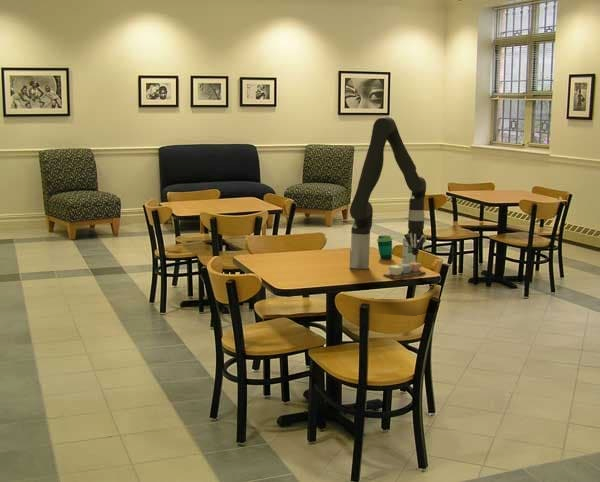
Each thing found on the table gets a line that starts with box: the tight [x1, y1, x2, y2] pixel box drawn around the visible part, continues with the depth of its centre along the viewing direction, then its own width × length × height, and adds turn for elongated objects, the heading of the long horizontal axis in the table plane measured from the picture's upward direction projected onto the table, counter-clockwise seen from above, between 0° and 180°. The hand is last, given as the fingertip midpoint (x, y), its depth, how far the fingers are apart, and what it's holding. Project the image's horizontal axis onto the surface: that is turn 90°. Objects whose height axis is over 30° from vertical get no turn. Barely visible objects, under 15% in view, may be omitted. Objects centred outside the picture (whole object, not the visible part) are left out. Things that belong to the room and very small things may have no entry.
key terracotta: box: [407, 262, 422, 273], centre depth 386 cm, size 5×5×4 cm
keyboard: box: [383, 270, 427, 281], centre depth 382 cm, size 20×9×1 cm, turn 131°
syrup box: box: [401, 237, 418, 264], centre depth 401 cm, size 6×6×14 cm
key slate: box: [397, 263, 412, 274], centre depth 382 cm, size 5×5×4 cm
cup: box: [376, 234, 393, 261], centre depth 420 cm, size 8×8×12 cm
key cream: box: [388, 264, 403, 275], centre depth 378 cm, size 5×5×4 cm
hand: (415, 254), depth 385 cm, fingers closed
